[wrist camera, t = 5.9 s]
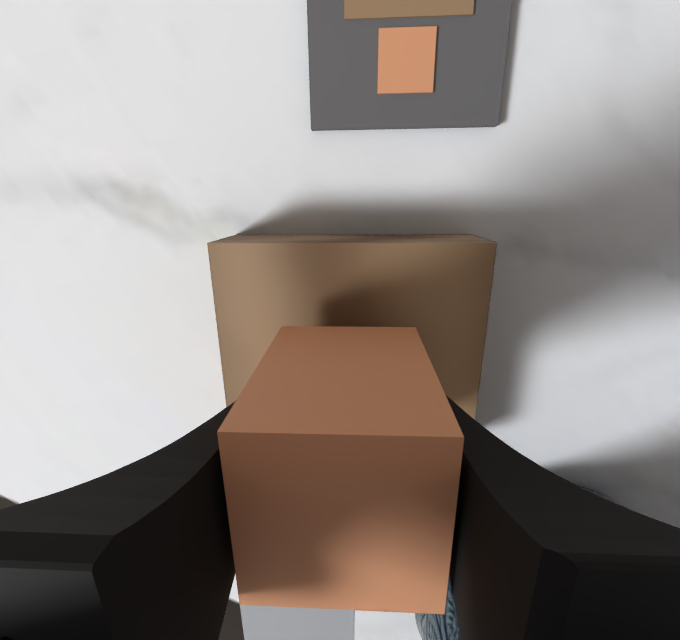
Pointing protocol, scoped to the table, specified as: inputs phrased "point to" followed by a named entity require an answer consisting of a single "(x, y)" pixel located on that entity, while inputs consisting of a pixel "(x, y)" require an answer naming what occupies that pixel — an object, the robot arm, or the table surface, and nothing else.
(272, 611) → the grey block
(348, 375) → the rust block
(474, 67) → the card
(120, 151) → the table surface
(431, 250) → the walnut base
